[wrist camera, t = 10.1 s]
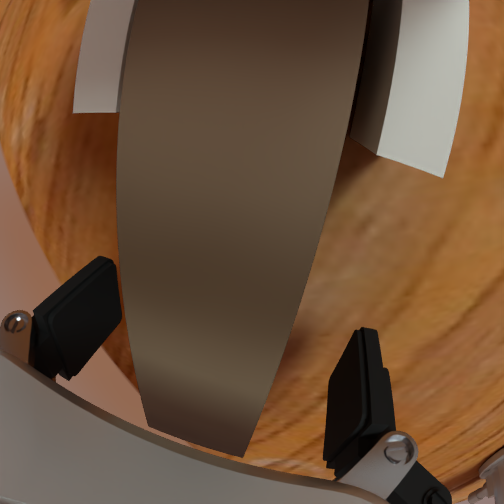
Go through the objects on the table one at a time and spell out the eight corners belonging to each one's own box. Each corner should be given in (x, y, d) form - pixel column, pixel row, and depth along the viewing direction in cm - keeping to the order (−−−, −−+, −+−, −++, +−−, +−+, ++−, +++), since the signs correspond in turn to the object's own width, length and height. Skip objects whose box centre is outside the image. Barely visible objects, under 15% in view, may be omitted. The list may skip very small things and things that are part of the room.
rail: (269, 356, 15) (242, 457, 9) (196, 336, 15) (148, 426, 10) (350, 10, 7) (375, -81, 2) (240, -5, 8) (167, -86, 2)
